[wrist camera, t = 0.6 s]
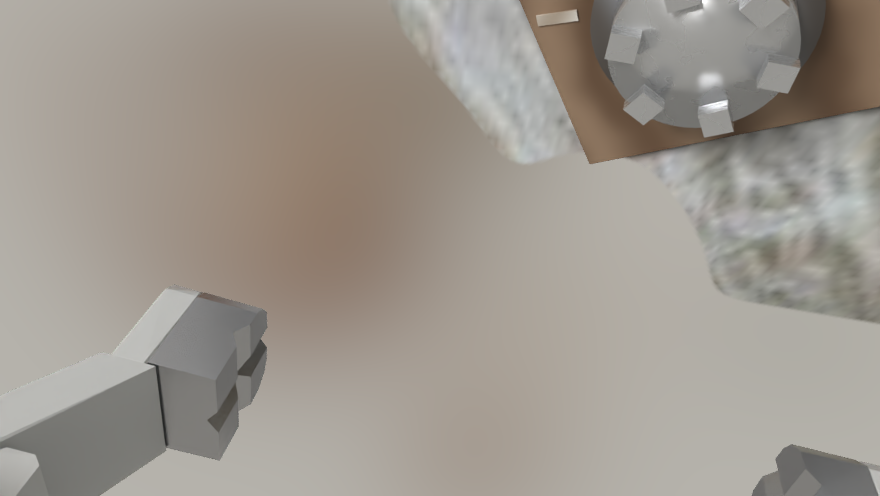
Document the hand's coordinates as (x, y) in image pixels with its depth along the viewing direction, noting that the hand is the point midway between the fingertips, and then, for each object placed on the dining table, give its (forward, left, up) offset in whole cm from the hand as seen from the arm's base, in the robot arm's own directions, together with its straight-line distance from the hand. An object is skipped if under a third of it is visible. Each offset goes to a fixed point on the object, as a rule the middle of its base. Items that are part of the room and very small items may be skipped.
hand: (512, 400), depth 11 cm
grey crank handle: (+2, +9, -37) cm, 39 cm away
